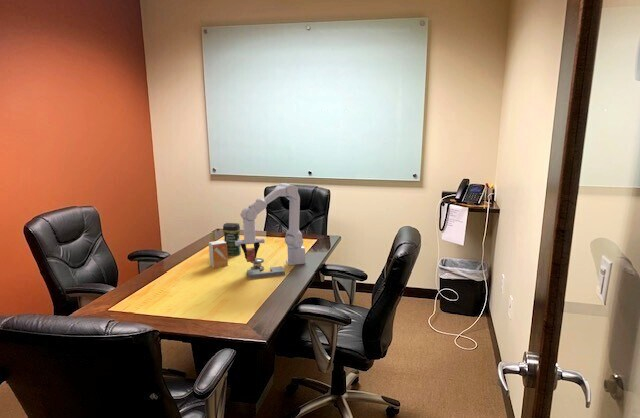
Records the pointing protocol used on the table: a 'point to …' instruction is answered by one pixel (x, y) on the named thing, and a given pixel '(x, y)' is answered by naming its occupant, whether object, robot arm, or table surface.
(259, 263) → the bobbin
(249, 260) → the block
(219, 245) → the small box
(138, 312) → the table surface
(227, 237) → the coffee jar
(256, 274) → the notched board
